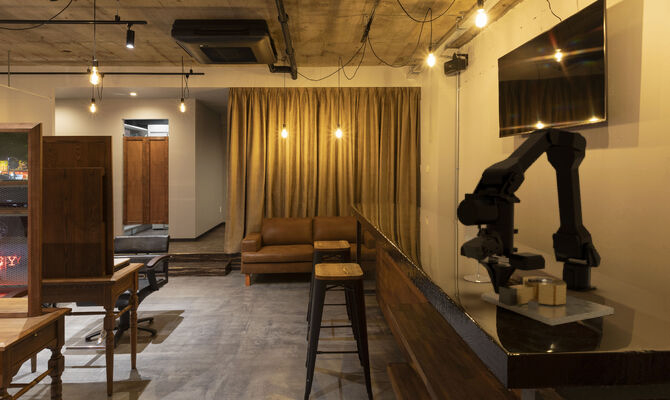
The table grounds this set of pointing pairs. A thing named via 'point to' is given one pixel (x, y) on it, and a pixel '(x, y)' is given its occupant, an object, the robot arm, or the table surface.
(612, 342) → the table surface
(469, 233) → the wineglass
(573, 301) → the post base
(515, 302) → the octagonal ring with handle
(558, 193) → the robot arm
